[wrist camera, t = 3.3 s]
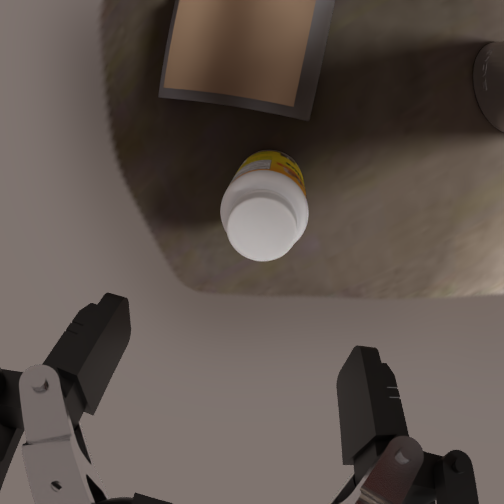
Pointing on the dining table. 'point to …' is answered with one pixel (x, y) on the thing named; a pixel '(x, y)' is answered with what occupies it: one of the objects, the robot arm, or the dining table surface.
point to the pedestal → (247, 53)
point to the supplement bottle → (265, 206)
